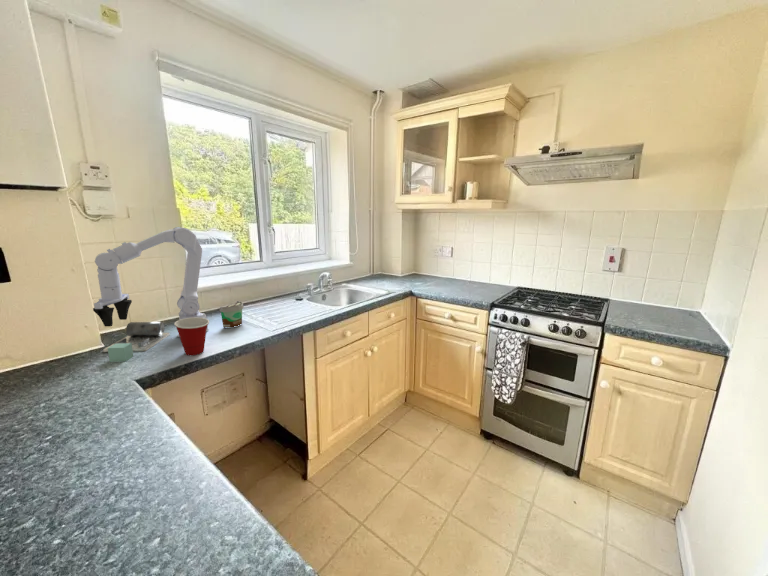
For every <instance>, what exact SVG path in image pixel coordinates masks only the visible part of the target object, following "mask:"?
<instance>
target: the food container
mask: <svg viewBox="0 0 768 576" xmlns="http://www.w3.org/2000/svg"><path fill="white" fill-rule="evenodd" d="M244 308H245V307H244V303H243V302H242V301H240V300H236V302H235V303H233V304H228V305H227V306H224V307H223V306H220V307H219V313H220V314H221V315H220V316H221V321H222V328H223V327H234V326H238V325H240V324H242V325H243V309H244ZM238 327H239V326H238ZM234 328H235V327H234Z"/></svg>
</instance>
